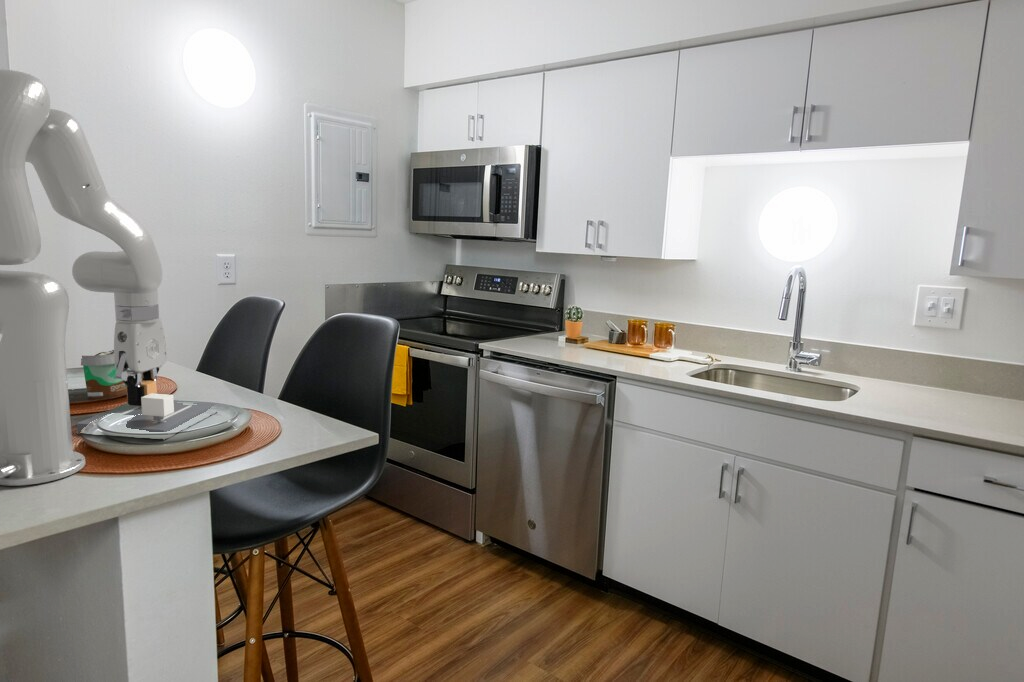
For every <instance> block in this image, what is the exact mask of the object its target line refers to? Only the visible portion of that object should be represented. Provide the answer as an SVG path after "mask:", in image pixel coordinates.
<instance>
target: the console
mask: <svg viewBox="0 0 1024 682" xmlns="http://www.w3.org/2000/svg"><path fill="white" fill-rule="evenodd" d="M173 400H174V412H173V413H171V414H169V415H167V416H165V417H164V419H162V420H160V421H158V420H154V418H153V416H150V415H141V414H142V406H134V405H129V404H128V402H126V403H124V404H121V405H118V406H116V407H114V408H111V409H108V410H106V411H104V412H102V413H99V414H97V415H93V416H91V417H89V418H86V419H84V420H82V421H79V422H76V429H77V430H76V431H77V435H78V434H79V435H81V434H80V432H81V430H82V429H83V428H84V427H86V426H87V425H88V424H89V423H90V422H92V421H94V420H96V419H99V418H101V417H103V416H105V415H107V414H111V413H121V414H120V415H134V416H135V415H136V416H135V417H133V418H132V419H131V420H129V421H127V424H126V427H127V428H131V429H139V430H146V431H149V432H167V431H170V430H172V429H174V428H176V427H178V426H179V425H182V424H183V423H185V422H187V421H189V420H190V419H192V418H194V417H196V416H198V415H200V414H202V413H204V412H206V411H207V410H208V409H210V408H211V407H212V406H214V405H216V404H217V405H218V403H215V402H206V401H205V402H203V401H198V402H199V403H193V404H197V405H192V406H189V405H183V403H177V402H185V401H186V402H193V401H191V400H178V399H177V400H175V399H173ZM138 414H140V415H138Z"/></svg>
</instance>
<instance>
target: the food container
mask: <svg viewBox="0 0 1024 682" xmlns="http://www.w3.org/2000/svg"><path fill="white" fill-rule="evenodd" d="M80 366H82V368H83V373H84V380H85V388H86V393H87V400H91V401H92V400H93V401H94V400H107V399H114V398H119V397H122V396H125V395H127V389H126V386H125V384H124V382H123V381H122V380H120V379H117V378H116V377H115V375H116V372H117V370H116V367H115V361H114V349H111V350H109V351H101V352H98V353H96V354H95V355H81V358H80Z"/></svg>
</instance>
